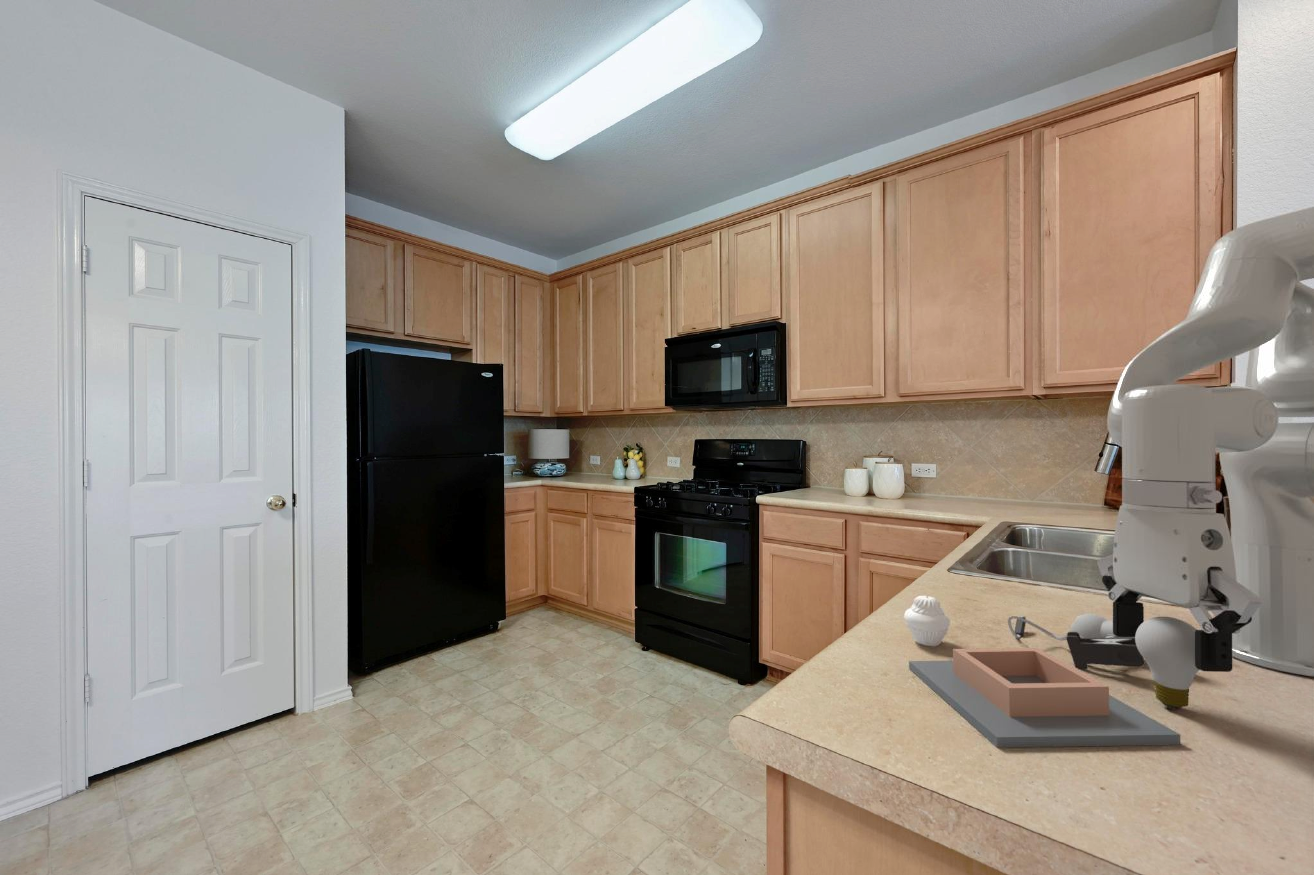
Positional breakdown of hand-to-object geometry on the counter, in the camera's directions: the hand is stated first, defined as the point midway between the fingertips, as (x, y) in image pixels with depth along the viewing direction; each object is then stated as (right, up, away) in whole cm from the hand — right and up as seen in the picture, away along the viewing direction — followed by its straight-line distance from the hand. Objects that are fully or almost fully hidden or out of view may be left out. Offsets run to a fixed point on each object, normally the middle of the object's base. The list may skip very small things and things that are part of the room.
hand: (1167, 651), depth 59 cm
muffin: (-16, -7, +20) cm, 27 cm away
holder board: (-14, -7, +2) cm, 16 cm away
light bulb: (+1, -7, 0) cm, 7 cm away
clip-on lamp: (+2, -7, +16) cm, 17 cm away
